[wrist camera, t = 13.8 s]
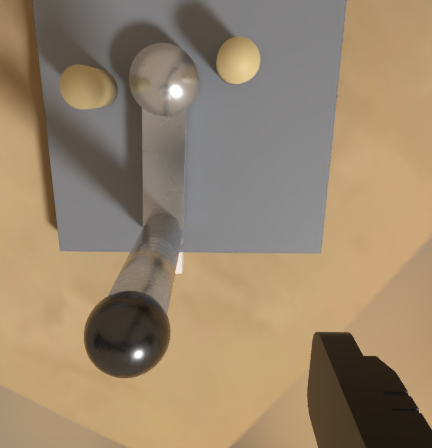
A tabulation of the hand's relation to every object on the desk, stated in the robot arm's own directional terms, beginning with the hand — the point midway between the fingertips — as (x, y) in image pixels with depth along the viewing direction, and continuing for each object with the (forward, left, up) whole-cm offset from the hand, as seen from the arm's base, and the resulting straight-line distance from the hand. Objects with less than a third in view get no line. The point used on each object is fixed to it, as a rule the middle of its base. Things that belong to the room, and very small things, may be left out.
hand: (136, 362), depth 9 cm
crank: (-3, 0, -11) cm, 11 cm away
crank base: (-4, +1, -12) cm, 13 cm away
